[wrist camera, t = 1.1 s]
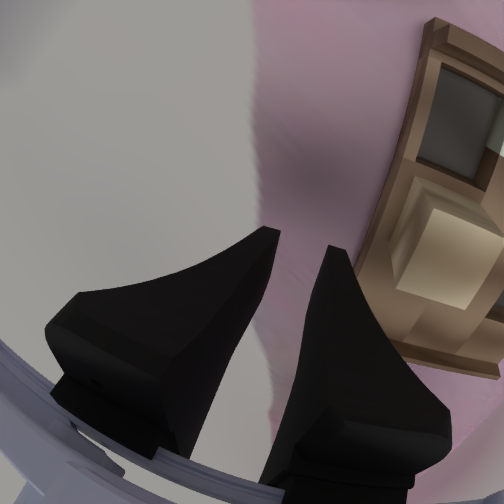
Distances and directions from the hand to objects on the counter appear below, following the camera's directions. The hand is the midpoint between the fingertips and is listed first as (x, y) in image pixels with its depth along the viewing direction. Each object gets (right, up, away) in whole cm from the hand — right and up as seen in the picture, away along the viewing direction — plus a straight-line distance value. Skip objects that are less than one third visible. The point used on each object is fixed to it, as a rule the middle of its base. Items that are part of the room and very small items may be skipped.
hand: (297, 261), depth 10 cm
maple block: (+9, +2, +5) cm, 11 cm away
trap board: (+15, +2, +6) cm, 16 cm away
